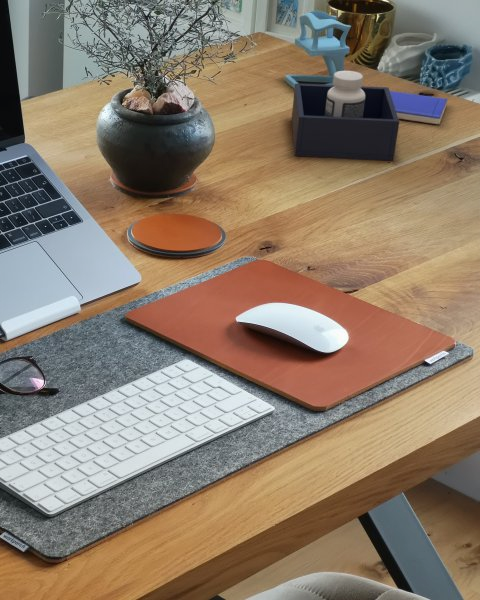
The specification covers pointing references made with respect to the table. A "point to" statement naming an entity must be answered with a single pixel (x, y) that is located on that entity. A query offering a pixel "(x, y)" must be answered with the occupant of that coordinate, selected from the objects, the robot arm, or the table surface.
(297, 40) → the chair
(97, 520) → the table surface
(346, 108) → the pill bottle
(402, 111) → the blue book
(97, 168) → the table surface
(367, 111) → the bin
